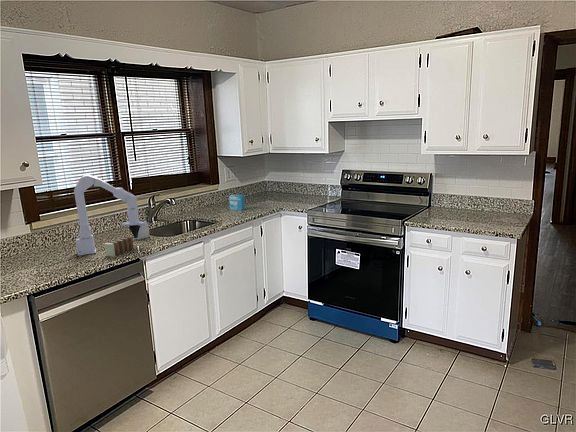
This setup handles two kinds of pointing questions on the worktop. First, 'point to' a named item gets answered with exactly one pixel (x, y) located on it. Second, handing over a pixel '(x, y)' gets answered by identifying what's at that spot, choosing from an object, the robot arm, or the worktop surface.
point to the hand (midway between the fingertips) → (136, 237)
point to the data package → (237, 202)
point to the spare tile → (109, 249)
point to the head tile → (130, 242)
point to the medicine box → (143, 232)
